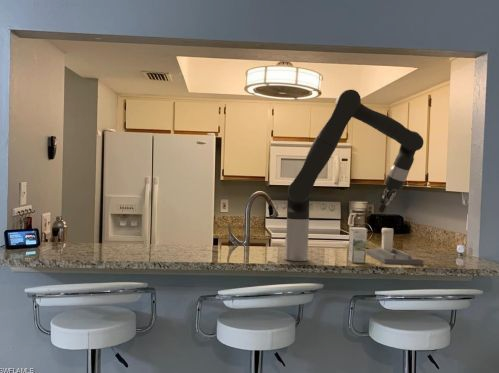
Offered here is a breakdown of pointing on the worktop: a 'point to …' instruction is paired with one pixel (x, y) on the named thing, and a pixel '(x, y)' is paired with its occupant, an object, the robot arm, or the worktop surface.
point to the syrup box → (357, 244)
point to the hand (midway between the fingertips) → (381, 211)
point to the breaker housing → (394, 257)
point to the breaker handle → (387, 239)
